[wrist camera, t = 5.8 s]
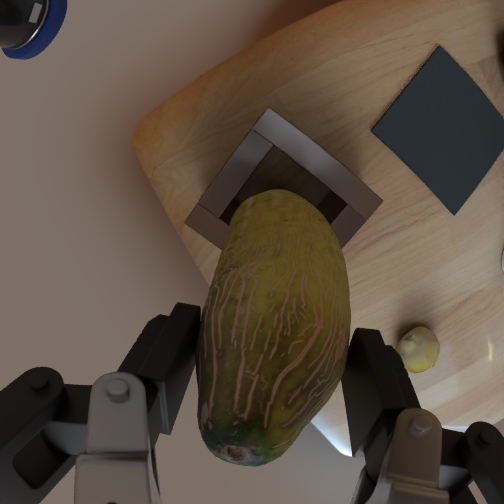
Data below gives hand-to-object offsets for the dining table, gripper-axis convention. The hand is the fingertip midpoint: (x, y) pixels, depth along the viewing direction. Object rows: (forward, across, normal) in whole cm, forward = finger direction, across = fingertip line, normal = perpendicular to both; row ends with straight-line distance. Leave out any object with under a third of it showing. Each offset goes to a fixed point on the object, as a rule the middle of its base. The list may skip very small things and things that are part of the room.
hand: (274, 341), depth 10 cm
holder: (+25, 0, 0) cm, 25 cm away
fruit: (+25, -22, +17) cm, 37 cm away
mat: (+25, -18, -10) cm, 33 cm away
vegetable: (+16, 0, 0) cm, 16 cm away
